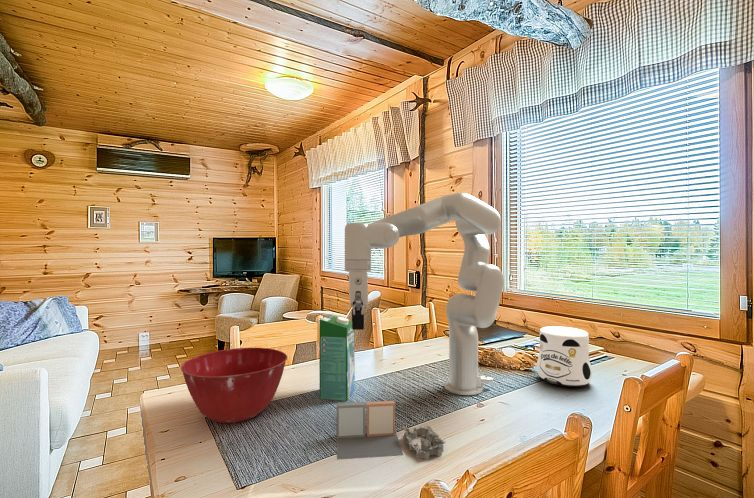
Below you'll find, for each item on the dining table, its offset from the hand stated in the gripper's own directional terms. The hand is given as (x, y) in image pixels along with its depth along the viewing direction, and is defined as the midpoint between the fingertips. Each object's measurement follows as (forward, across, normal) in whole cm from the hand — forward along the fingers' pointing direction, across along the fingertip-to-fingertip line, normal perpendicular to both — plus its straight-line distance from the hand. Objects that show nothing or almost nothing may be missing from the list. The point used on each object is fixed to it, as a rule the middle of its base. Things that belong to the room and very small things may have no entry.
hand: (357, 325), depth 110 cm
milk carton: (+25, +14, +6) cm, 30 cm away
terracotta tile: (+24, -14, -6) cm, 29 cm away
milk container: (+25, +19, -73) cm, 79 cm away
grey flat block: (+24, -14, +2) cm, 28 cm away
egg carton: (+26, -20, -15) cm, 36 cm away
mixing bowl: (+26, +3, +35) cm, 43 cm away
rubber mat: (+25, -17, -2) cm, 30 cm away
